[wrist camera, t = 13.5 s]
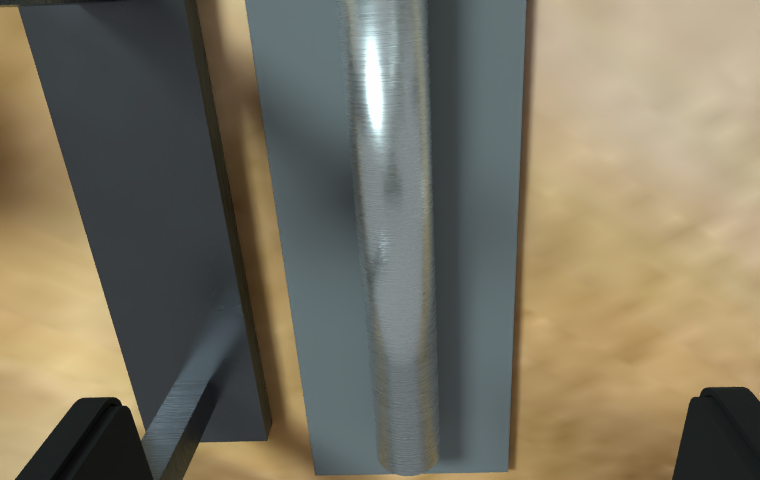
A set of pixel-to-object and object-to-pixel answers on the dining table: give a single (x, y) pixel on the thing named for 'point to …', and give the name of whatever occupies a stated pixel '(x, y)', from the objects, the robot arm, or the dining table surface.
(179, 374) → the hook stands
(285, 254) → the rubber mat
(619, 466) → the dining table surface
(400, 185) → the steel rail
